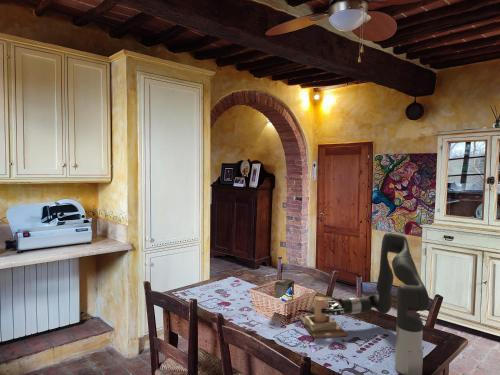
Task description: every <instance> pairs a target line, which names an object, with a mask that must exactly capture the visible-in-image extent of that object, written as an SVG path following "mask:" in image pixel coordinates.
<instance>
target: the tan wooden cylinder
mask: <svg viewBox="0 0 500 375" xmlns="http://www.w3.org/2000/svg"><path fill="white" fill-rule="evenodd" d="M322 297H323V296H319V297H317V298H315V311H314V312H313V313H314V315H313V316H314V323H326V315H327V314H326V313H325V314H322V313H321V309H323V308H326V299H325V298H322Z"/></svg>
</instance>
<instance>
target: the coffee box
mask: <svg viewBox="0 0 500 375" xmlns="http://www.w3.org/2000/svg"><path fill="white" fill-rule="evenodd" d="M290 287H292V289H293V295H294V296H295V280H291V279H289V278H283V279H280V280H279V281H275V291H274V292H275V296H274V298H280V297H282V296H283V295H285V293H286V291H287V290H288V289H289V288H290Z"/></svg>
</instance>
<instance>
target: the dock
mask: <svg viewBox="0 0 500 375" xmlns="http://www.w3.org/2000/svg"><path fill="white" fill-rule="evenodd" d="M299 320H300V322H302V324H303V326H304V327H305V328H306V330H307V331H308V333H309V334H310V335H311V337H312V338H313V339H320V338H321V339H322V338H323V339H324V338H333V337H334V338H337V337H347V336H348V333H347V332H346V331H345V329H344V328H343V327H341V326H340V324H338V323H337V322H336V320H335V319H333V317H332V316H331V315H330V314H326V323H314V315H305V316H304V317H300V318H299Z"/></svg>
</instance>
